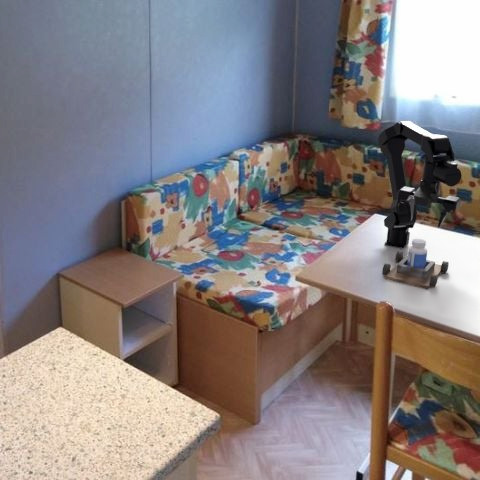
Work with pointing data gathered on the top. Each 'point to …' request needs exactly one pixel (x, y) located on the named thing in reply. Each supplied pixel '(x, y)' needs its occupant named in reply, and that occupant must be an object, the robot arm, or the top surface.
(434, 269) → the chassis
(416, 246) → the pill bottle
